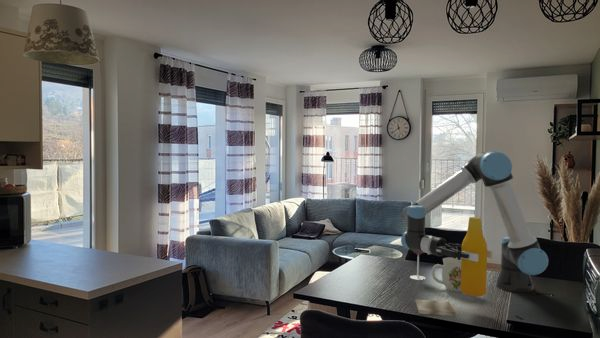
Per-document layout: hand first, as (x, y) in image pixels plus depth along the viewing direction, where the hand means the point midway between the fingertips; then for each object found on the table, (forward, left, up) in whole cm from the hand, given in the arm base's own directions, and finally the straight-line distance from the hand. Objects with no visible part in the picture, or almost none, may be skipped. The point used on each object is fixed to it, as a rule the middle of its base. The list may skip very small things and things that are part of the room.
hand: (485, 256), depth 162 cm
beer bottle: (+3, -3, -15) cm, 16 cm away
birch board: (+18, -2, -22) cm, 28 cm away
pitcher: (+6, -30, -22) cm, 38 cm away
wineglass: (+19, -46, -22) cm, 55 cm away
